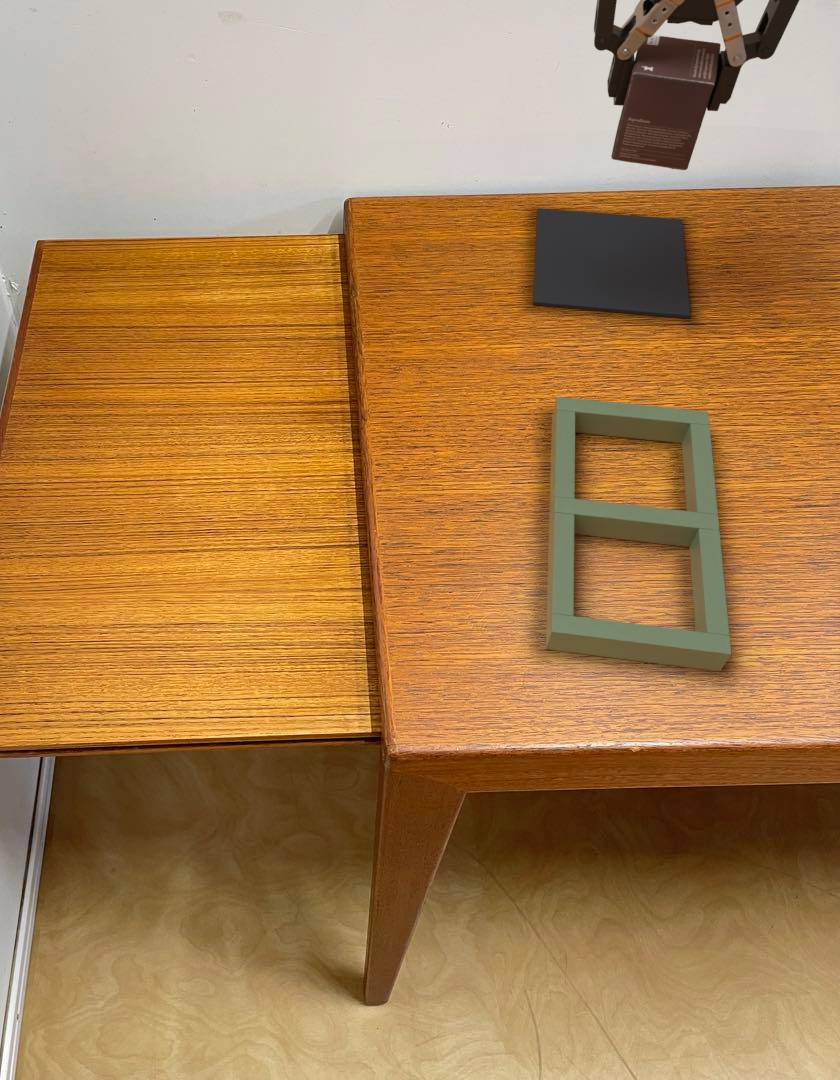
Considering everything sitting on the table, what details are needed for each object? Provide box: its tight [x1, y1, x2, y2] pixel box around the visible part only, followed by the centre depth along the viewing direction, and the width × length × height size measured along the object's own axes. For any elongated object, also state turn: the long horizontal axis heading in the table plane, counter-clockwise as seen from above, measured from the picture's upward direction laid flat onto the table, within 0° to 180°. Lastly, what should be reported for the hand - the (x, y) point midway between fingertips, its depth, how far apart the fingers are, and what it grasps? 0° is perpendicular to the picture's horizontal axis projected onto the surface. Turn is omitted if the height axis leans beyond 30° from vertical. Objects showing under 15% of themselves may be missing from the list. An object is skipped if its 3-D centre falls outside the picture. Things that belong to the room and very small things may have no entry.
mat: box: [532, 208, 691, 320], centre depth 94 cm, size 14×14×1 cm
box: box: [610, 34, 721, 171], centre depth 77 cm, size 6×6×7 cm
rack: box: [545, 396, 732, 672], centre depth 75 cm, size 22×12×2 cm, turn 170°
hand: (664, 102), depth 77 cm, fingers closed on box, 6 cm apart
